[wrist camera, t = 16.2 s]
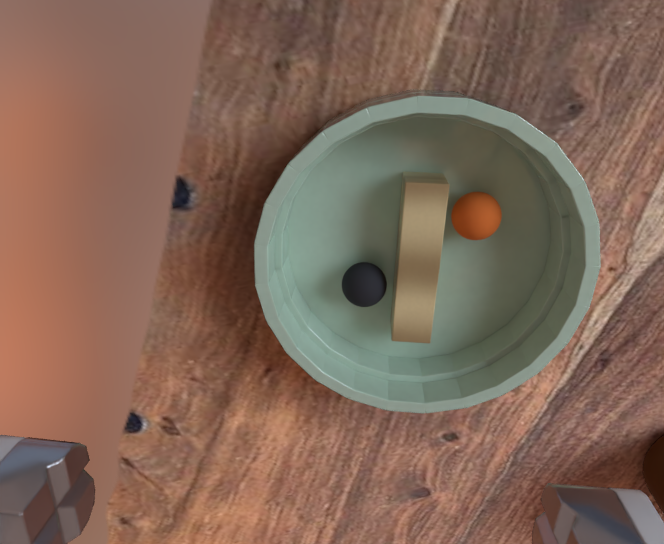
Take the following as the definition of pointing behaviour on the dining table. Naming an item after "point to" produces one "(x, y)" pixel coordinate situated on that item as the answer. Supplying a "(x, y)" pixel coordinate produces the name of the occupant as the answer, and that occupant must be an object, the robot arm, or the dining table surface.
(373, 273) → the bead
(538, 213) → the bowl
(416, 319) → the stick
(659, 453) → the mug
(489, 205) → the bead
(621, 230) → the dining table surface
